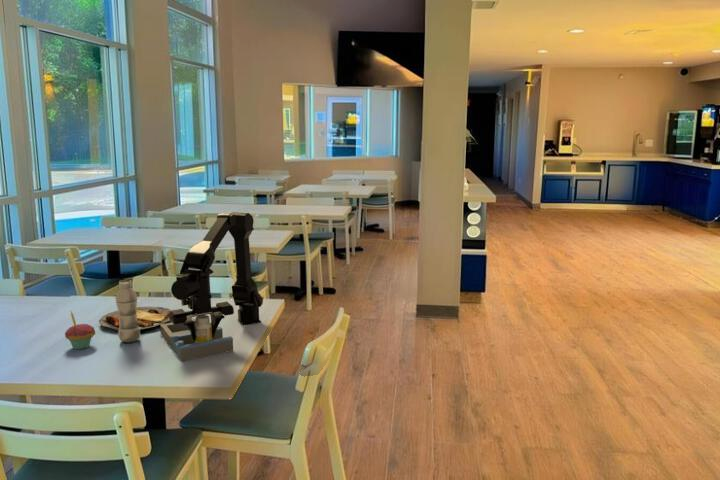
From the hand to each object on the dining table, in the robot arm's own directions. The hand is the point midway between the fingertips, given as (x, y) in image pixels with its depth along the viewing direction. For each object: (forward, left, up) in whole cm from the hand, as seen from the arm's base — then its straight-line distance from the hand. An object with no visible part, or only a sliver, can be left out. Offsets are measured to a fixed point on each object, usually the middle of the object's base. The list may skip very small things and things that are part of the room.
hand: (203, 338), depth 184 cm
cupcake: (+33, -22, -4) cm, 39 cm away
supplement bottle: (0, 0, -3) cm, 3 cm away
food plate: (+13, -37, -4) cm, 39 cm away
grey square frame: (+1, -7, -3) cm, 8 cm away
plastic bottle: (+19, -19, -4) cm, 27 cm away
